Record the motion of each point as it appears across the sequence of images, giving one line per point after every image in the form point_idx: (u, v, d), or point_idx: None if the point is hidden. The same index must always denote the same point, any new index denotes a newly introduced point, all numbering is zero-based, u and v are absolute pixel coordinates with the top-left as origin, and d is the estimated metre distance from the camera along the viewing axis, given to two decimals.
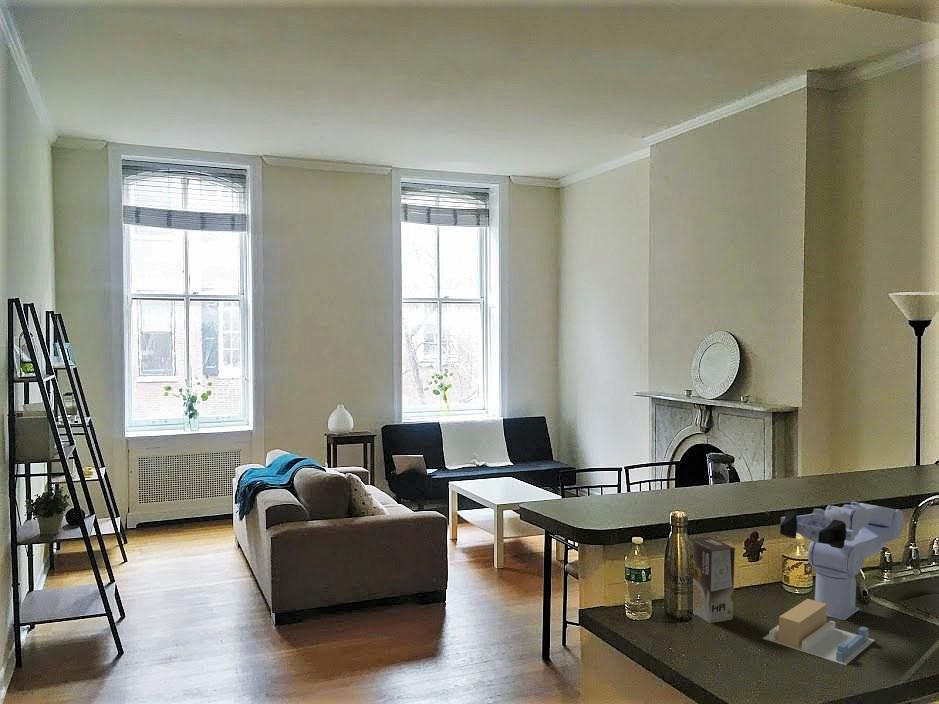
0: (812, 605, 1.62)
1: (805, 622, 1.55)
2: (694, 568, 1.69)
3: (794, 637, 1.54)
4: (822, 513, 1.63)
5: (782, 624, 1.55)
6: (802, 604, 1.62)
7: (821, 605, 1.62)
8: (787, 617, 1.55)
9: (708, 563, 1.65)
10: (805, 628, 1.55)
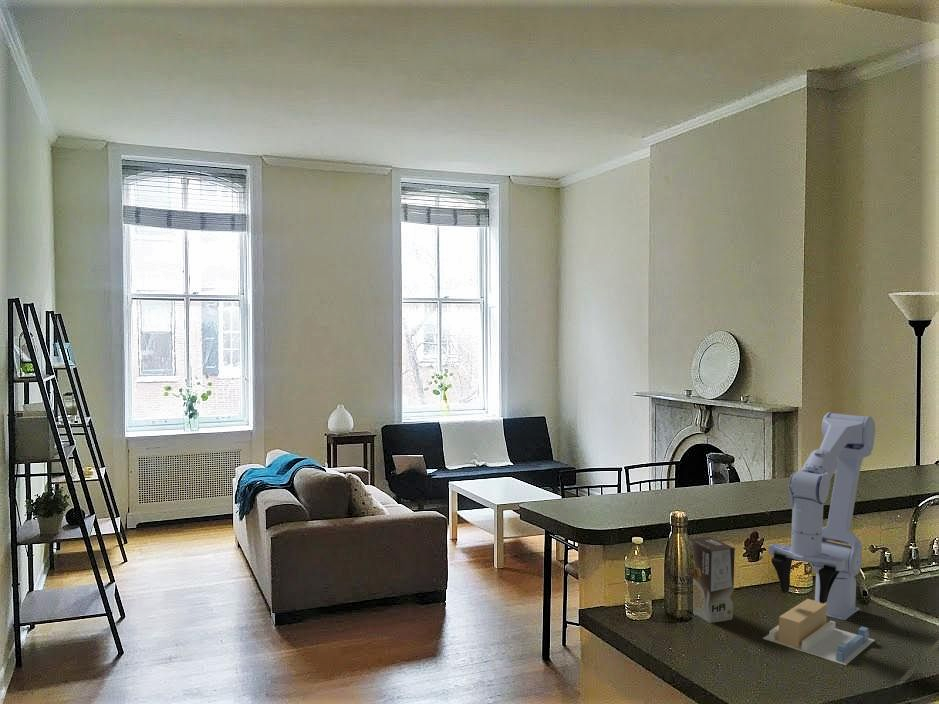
0: (812, 605, 1.62)
1: (805, 622, 1.55)
2: (694, 568, 1.69)
3: (794, 637, 1.54)
4: None
5: (782, 624, 1.55)
6: (802, 604, 1.62)
7: (821, 605, 1.62)
8: (787, 617, 1.55)
9: (708, 563, 1.65)
10: (805, 628, 1.55)
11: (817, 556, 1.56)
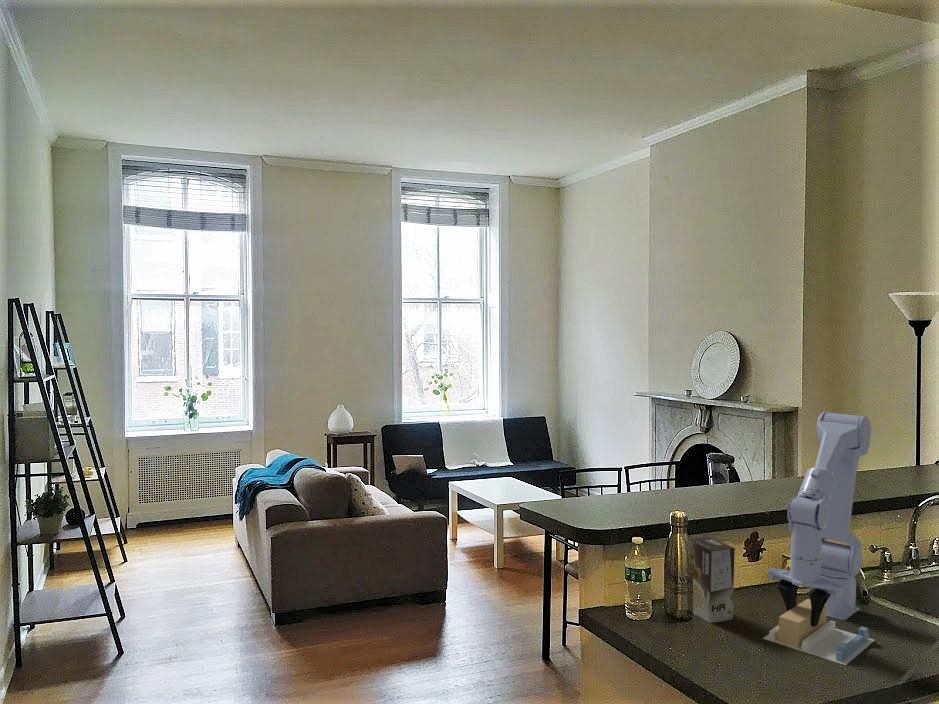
0: None
1: (805, 622, 1.55)
2: (694, 568, 1.69)
3: (794, 637, 1.54)
4: None
5: (782, 624, 1.55)
6: (802, 604, 1.62)
7: None
8: (787, 617, 1.55)
9: (708, 563, 1.65)
10: (805, 628, 1.55)
11: (816, 582, 1.56)
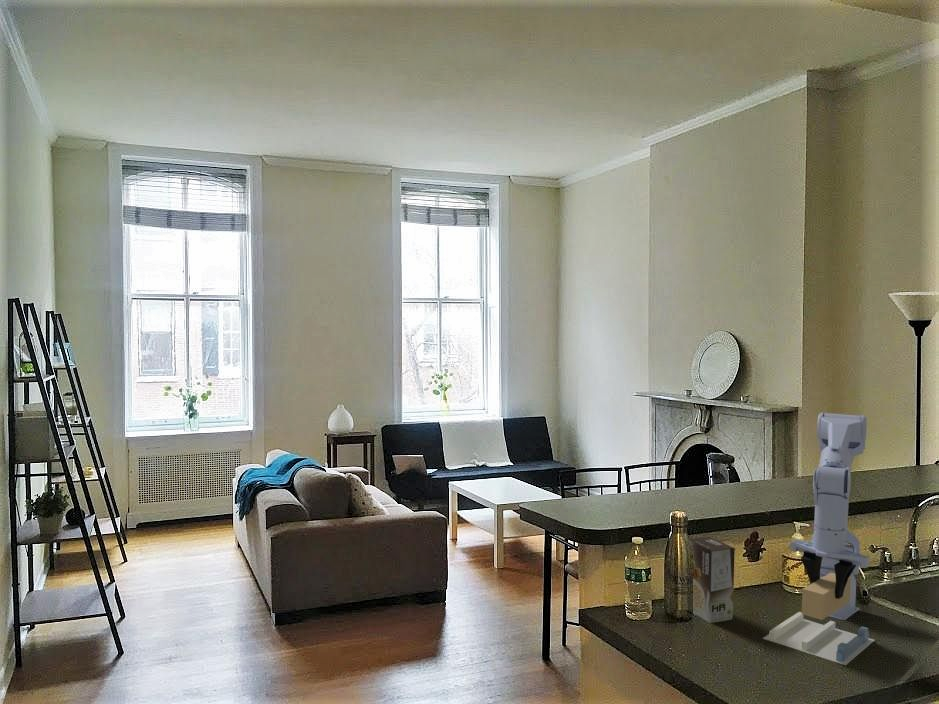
0: None
1: (829, 594, 1.51)
2: (694, 568, 1.69)
3: (817, 610, 1.50)
4: None
5: (805, 596, 1.52)
6: (825, 577, 1.59)
7: None
8: (811, 589, 1.52)
9: (708, 563, 1.65)
10: (829, 601, 1.52)
11: (841, 552, 1.52)
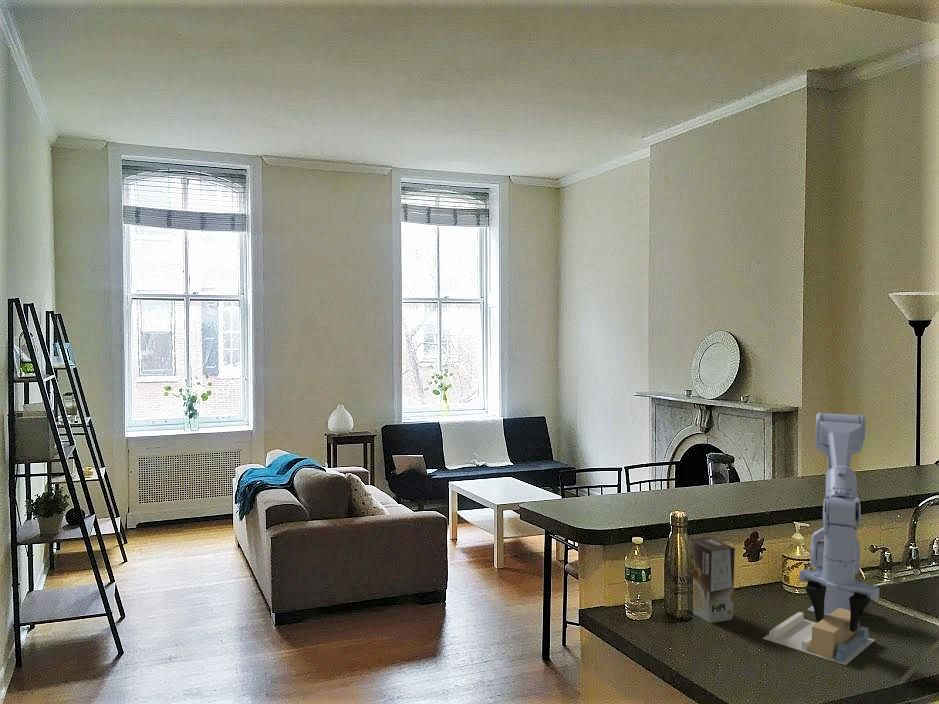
0: (845, 614, 1.57)
1: (839, 632, 1.50)
2: (694, 568, 1.69)
3: (827, 648, 1.49)
4: None
5: (815, 634, 1.51)
6: (834, 613, 1.58)
7: None
8: (820, 627, 1.51)
9: (708, 563, 1.65)
10: (839, 639, 1.51)
11: (850, 584, 1.51)
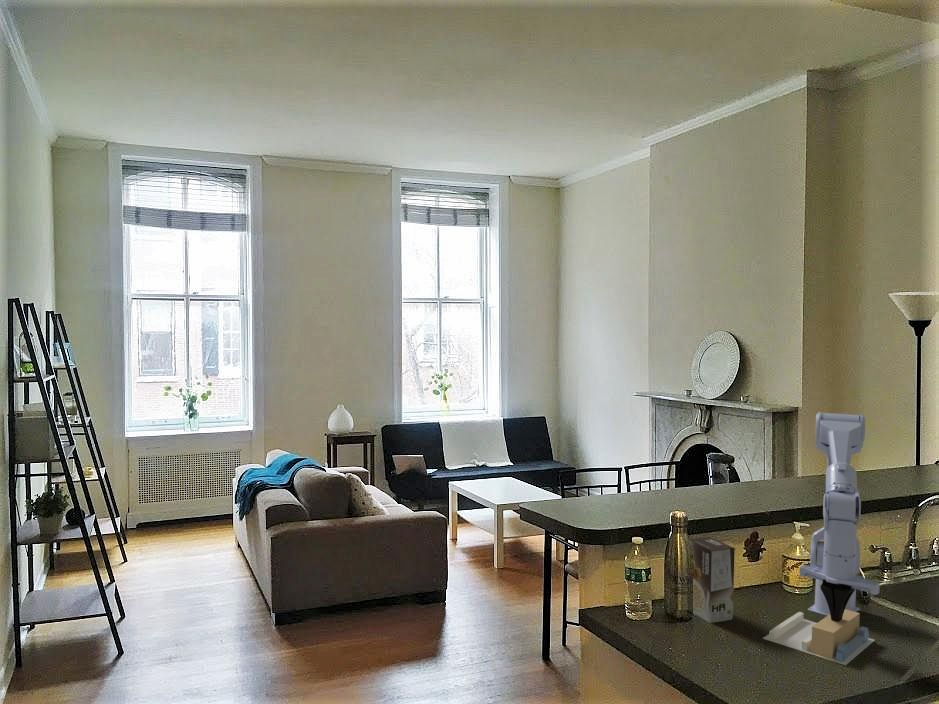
0: (845, 614, 1.57)
1: (839, 632, 1.50)
2: (694, 568, 1.69)
3: (827, 648, 1.49)
4: None
5: (815, 634, 1.51)
6: None
7: (854, 614, 1.57)
8: (820, 627, 1.51)
9: (708, 563, 1.65)
10: (839, 639, 1.51)
11: (851, 579, 1.51)
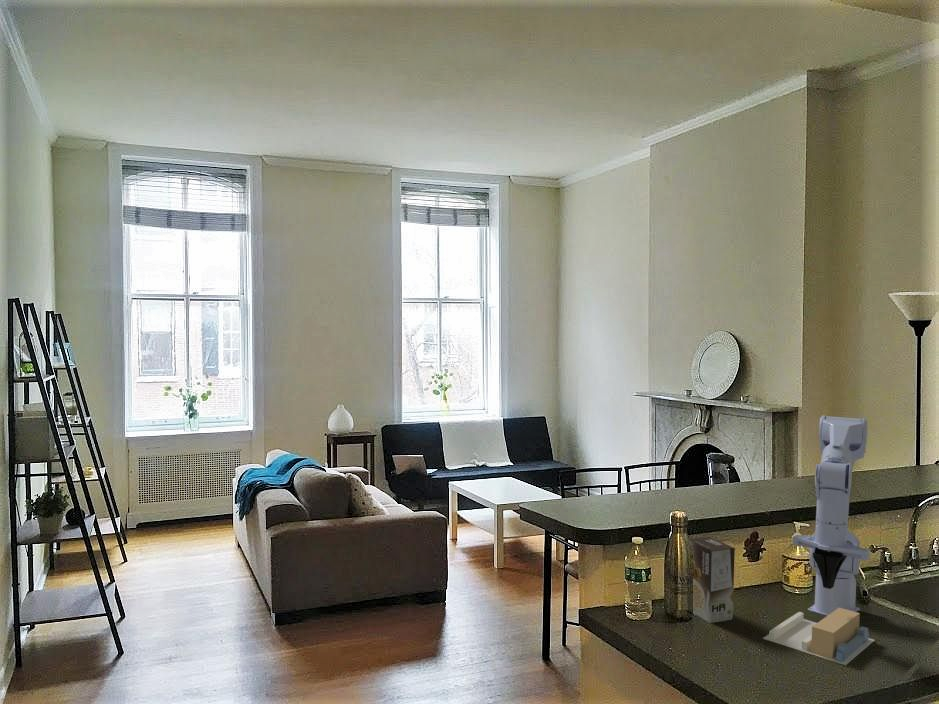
0: (845, 614, 1.57)
1: (839, 632, 1.50)
2: (694, 568, 1.69)
3: (827, 648, 1.49)
4: None
5: (815, 634, 1.51)
6: (834, 613, 1.58)
7: (854, 614, 1.57)
8: (820, 627, 1.51)
9: (708, 563, 1.65)
10: (839, 639, 1.51)
11: (842, 546, 1.56)
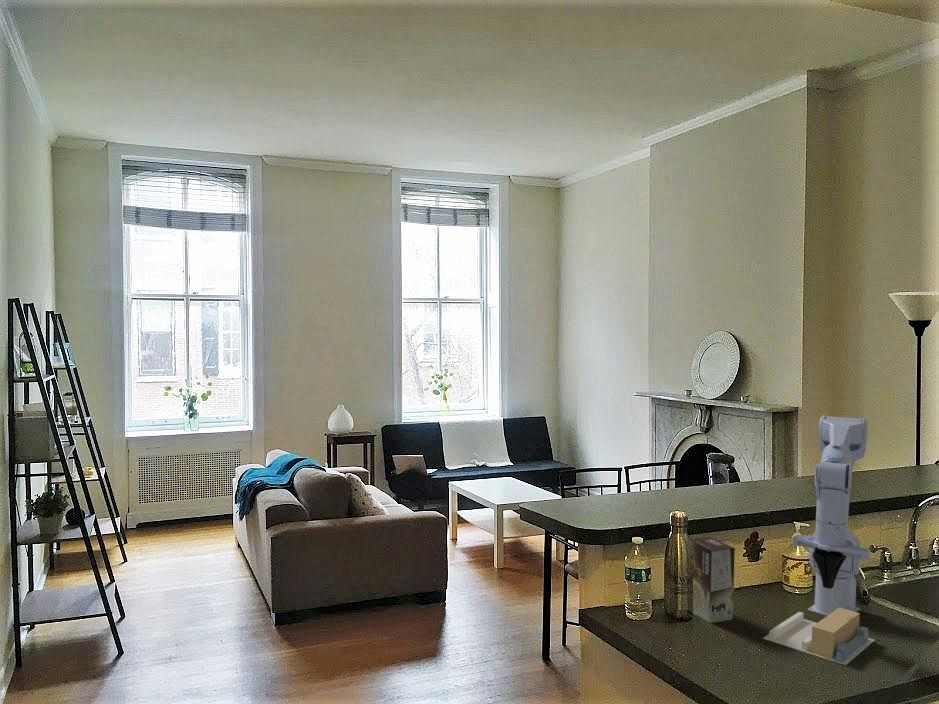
0: (845, 614, 1.57)
1: (839, 632, 1.50)
2: (694, 568, 1.69)
3: (827, 648, 1.49)
4: None
5: (815, 634, 1.51)
6: (834, 613, 1.58)
7: (854, 614, 1.57)
8: (820, 627, 1.51)
9: (708, 563, 1.65)
10: (839, 639, 1.51)
11: (842, 546, 1.56)
